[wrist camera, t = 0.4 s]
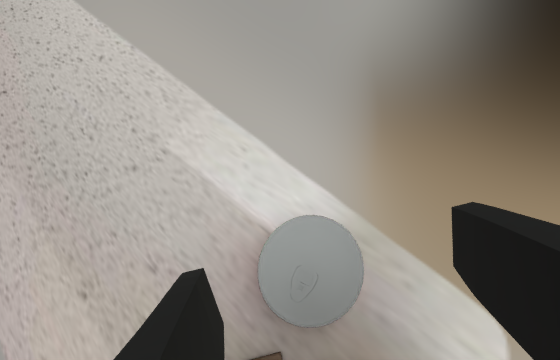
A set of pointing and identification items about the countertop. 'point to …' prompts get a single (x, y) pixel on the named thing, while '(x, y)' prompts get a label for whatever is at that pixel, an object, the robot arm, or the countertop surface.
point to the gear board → (270, 357)
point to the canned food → (310, 271)
